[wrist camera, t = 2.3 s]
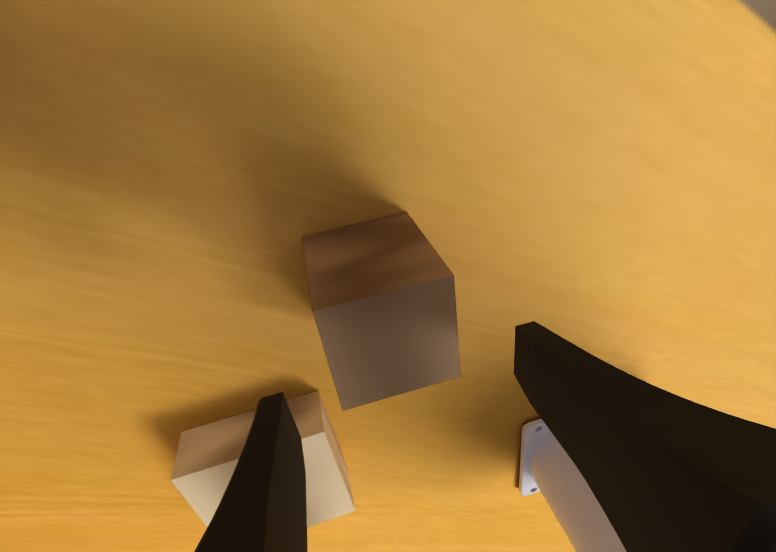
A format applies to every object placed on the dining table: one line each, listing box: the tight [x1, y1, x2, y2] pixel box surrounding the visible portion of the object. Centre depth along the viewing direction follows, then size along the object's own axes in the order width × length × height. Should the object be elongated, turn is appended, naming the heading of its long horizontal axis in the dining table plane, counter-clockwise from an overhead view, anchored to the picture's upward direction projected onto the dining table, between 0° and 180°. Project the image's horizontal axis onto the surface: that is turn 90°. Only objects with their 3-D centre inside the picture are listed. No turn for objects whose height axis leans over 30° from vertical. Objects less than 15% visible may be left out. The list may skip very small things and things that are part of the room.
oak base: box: [171, 391, 355, 527], centre depth 22 cm, size 7×7×3 cm
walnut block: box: [302, 212, 461, 410], centre depth 16 cm, size 4×4×6 cm
